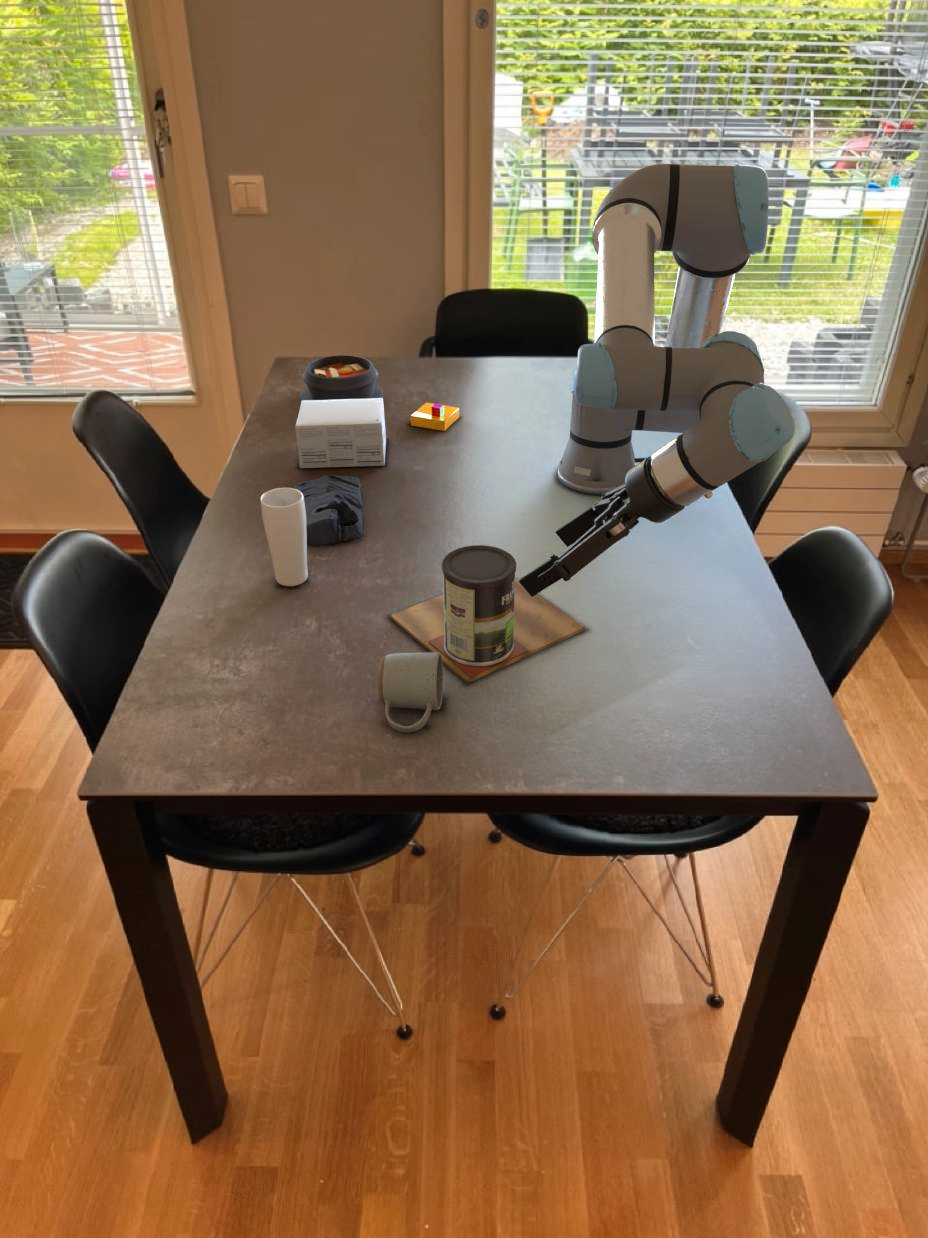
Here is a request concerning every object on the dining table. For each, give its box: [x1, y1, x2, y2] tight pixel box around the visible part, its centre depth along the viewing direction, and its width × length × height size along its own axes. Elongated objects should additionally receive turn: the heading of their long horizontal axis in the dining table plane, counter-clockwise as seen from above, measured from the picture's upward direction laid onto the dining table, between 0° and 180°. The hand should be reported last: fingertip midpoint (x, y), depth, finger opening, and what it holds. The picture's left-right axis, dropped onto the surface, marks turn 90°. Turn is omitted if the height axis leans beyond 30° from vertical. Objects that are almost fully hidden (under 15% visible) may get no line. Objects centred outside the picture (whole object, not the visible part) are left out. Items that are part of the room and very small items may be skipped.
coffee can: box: [441, 544, 517, 666], centre depth 137 cm, size 10×10×14 cm
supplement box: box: [294, 397, 387, 469], centre depth 194 cm, size 17×13×9 cm
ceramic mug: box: [377, 651, 445, 734], centre depth 129 cm, size 11×8×8 cm
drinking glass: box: [259, 487, 309, 587], centre depth 154 cm, size 7×7×15 cm
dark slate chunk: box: [293, 473, 364, 546], centre depth 175 cm, size 15×22×5 cm
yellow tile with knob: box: [410, 402, 460, 432], centre depth 209 cm, size 8×8×4 cm
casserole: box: [299, 354, 384, 401], centre depth 217 cm, size 25×19×8 cm
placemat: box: [390, 577, 586, 684], centre depth 147 cm, size 22×20×1 cm
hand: (544, 562), depth 129 cm, fingers open, 13 cm apart
